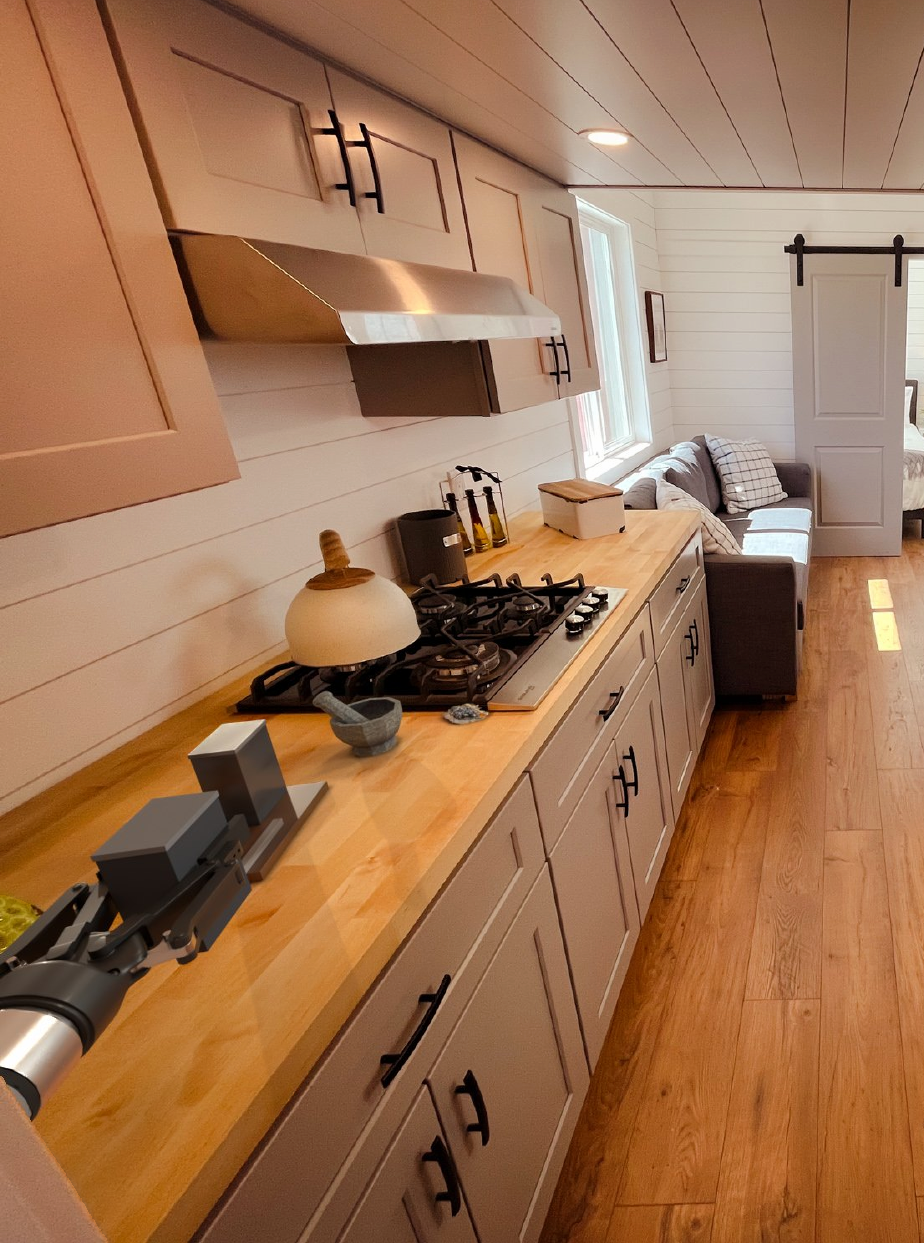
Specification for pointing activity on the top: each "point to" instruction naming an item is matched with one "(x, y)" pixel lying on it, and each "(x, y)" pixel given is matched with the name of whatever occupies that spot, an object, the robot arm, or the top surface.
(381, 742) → the mortar and pestle
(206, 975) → the top surface
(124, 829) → the loose pad
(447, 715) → the blueberries
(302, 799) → the pad base
